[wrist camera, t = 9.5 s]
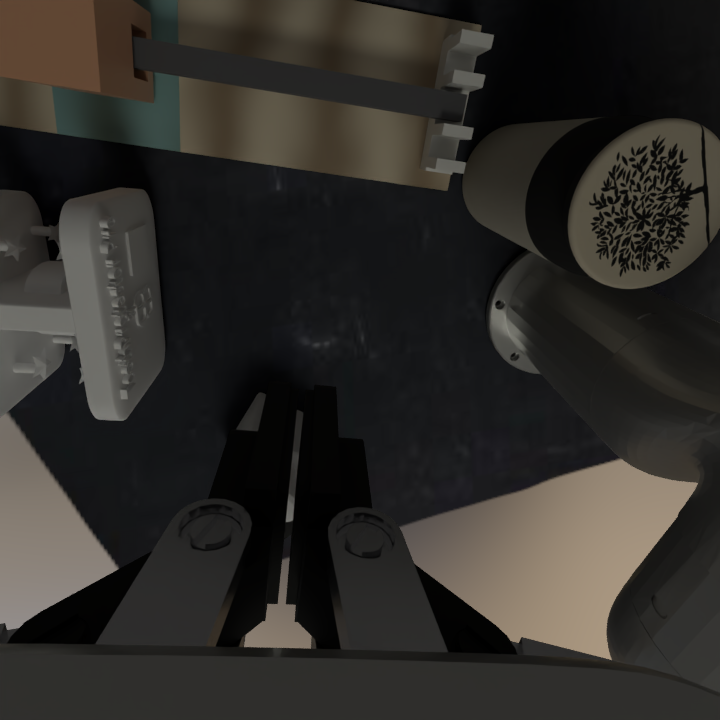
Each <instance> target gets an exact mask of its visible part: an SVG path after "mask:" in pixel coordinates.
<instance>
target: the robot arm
mask: <svg viewBox="0 0 720 720" xmlns="http://www.w3.org/2000/svg"><path fill="white" fill-rule="evenodd" d="M498 300H499V303H497V304H496V302H497V301H498ZM486 326H487V331H488V334H489V338H490V340H491V342H492V344H493V346H494V347H495V349H496V350H497V351H498V353H499V354H500V355H501V356H502V358H504V359H505V360H506V361H507V362H508V363H509V364H511V365H512V366H514V367H516V368H518V369H520V370H523V371H526V372H529V373H535V374H542V375H543V376H544V378H545V379H546V380H547V381H548V382H549V383H550V384H551V385H552V386H553V387H554V388H555V389H556V391H557V392H558V393H559V394H560V395H561V396H562V397H563V398H564V399H565V400H566V401H567V402H568V404H569V405H570V406H571V407H572V408H573V409H574V410H575V411H576V412H577V413H578V414H579V415H580V417H581V418H582V419H583V420H584V421H585V422H586V423H587V424H588V425H589V426H590V427H591V428H592V430H593V431H594V432H595V433H596V434H597V435H598V436H599V437H600V438H601V439H602V440H603V441H604V442H605V443H606V444H607V445H608V446H609V447H610V449H611V450H612V451H613V452H614V453H615V454H617V455H618V456H619V457H620V458H621V459H623V460H624V461H625V462H627V463H628V464H630V465H632V466H633V467H635V468H637V469H639V470H641V471H643V472H646V473H648V474H651V475H654V476H658V477H662V478H667V479H671V480H677V481H686V482H696V483H698V485H697V487H696V489H695V491H694V492H693V494H692V495H691V497H690V498H689V500H688V501H687V502H686V504H685V505H684V507H683V508H682V509H681V511H680V512H679V514H678V517H677V518H676V520H675V521H674V522H673V523H672V525H671V526H670V527H669V528H668V530H667V531H666V532H665V534H664V535H663V536H662V537H661V539H660V540H659V541H658V542H657V544H656V545H655V546H654V548H653V549H652V550H651V551H650V553H649V554H648V555H647V556H646V558H645V559H644V561H643V562H642V563H641V564H640V565H639V567H638V568H637V569H636V570H635V572H634V573H633V574H632V576H631V577H630V579H629V580H628V581H627V583H626V584H625V585H624V587H623V588H622V590H621V591H620V593H619V594H618V596H617V597H616V599H615V601H614V603H613V605H612V608H611V610H610V613H609V617H608V623H607V642H608V648H609V652H610V655H611V658H612V660H609V659H605V658H601V657H597V656H593V655H589V654H585V653H582V652H577V651H574V650H570V649H566V648H561V647H558V646H554V645H550V644H546V643H542V642H538V641H534V640H531V639H527V638H523V637H522V638H521V640H520V642H519V643H516V642H512V641H510V640H509V638H508V637H507V635H505V634H504V633H503V632H502V631H501V630H500V629H499V628H498V627H497V626H496V625H495V624H493V623H492V622H491V621H489V620H488V619H486V618H485V617H484V616H483V615H481V614H480V613H479V612H477V611H476V610H474V609H473V608H472V607H471V606H469V605H468V604H467V603H465V602H464V601H463V600H462V599H460V598H459V597H458V596H456V595H455V594H454V593H452V592H451V591H450V590H448V589H447V588H445V587H444V586H443V585H442V584H440V583H439V582H438V581H436V580H435V579H434V578H432V577H431V576H430V575H428V574H427V573H426V572H424V571H423V570H422V569H420V568H419V567H418V566H416V565H415V564H414V562H413V560H412V557H411V555H410V552H409V549H408V547H407V544H406V542H405V539H404V536H403V534H402V532H401V530H400V528H399V526H398V525H397V523H396V522H395V521H394V520H392V519H391V518H390V517H389V516H388V515H386V514H384V513H382V512H380V511H378V510H374V509H372V503H371V495H370V487H369V479H368V472H367V464H366V456H365V449H364V442H363V440H362V439H351V438H339V437H338V416H337V395H336V387H331V386H320V385H315V386H314V390H306V393H305V402H304V411H303V421H302V430H301V440H300V449H299V459H298V468H297V478H296V488H295V500H294V512H293V524H292V537H291V549H290V561H289V574H288V585H287V597H286V604H294V605H296V611H295V622H298V623H299V624H301V626H302V627H303V628H304V629H305V630H306V631H308V633H310V635H311V636H312V639H311V649H301V648H256V647H255V648H254V647H244V642H245V635H246V634H247V633H248V632H249V631H251V630H252V629H253V628H254V627H256V626H257V625H258V624H260V623H261V622H262V621H265V618H266V610H267V604H277V603H278V593H279V583H280V574H281V564H282V554H283V544H284V534H285V524H286V514H287V505H288V495H289V485H290V475H291V464H292V454H293V444H294V434H295V424H296V414H297V404H298V394H299V389H292V388H291V383H288V382H277V381H269V384H268V389H267V393H266V397H265V402H264V406H263V411H262V415H261V419H260V424H259V428H258V431H249V430H236V429H231V430H230V433H229V436H228V439H227V442H226V445H225V448H224V451H223V454H222V457H221V460H220V464H219V467H218V470H217V473H216V476H215V479H214V482H213V485H212V488H211V491H210V495H209V498H208V499H206V500H200V501H198V502H195V503H192V504H190V505H188V506H186V507H185V508H183V509H182V510H180V511H179V512H178V513H177V515H176V516H175V517H174V518H173V519H172V521H171V522H170V524H169V525H168V527H167V529H166V530H165V532H164V534H163V535H162V537H161V538H160V540H159V542H158V543H157V545H156V546H155V548H154V550H153V551H151V552H150V553H148V554H146V555H144V556H142V557H140V558H139V559H137V560H135V561H133V562H131V563H129V564H128V565H126V566H124V567H122V568H120V569H118V570H117V571H115V572H113V573H111V574H109V575H107V576H106V577H104V578H102V579H100V580H98V581H96V582H95V583H93V584H91V585H89V586H87V587H85V588H84V589H82V590H80V591H78V592H76V593H75V594H73V595H71V596H69V597H67V598H65V599H63V600H61V601H60V602H58V603H56V604H54V605H53V606H50V607H49V608H47V609H45V610H43V611H41V612H40V613H38V614H37V615H35V616H34V617H32V618H31V619H29V620H28V621H26V622H25V623H24V624H23V625H22V626H21V627H20V628H18V629H12V630H7V629H6V625H5V623H4V624H0V720H720V323H719V322H717V321H715V320H713V319H710V318H708V317H706V316H704V315H702V314H700V313H697V312H695V311H693V310H691V309H689V308H687V307H685V306H682V305H680V304H678V303H676V302H674V301H672V300H670V299H667V298H665V297H663V296H661V295H659V294H657V293H655V292H652V291H650V290H648V289H646V288H644V287H643V288H637V289H620V288H614V287H610V286H607V285H604V284H602V283H600V282H598V281H596V280H594V279H593V278H592V277H586V276H580V275H576V274H573V273H571V272H569V271H566V270H565V269H563V268H561V267H559V266H557V265H555V264H553V263H552V262H550V261H548V260H546V259H544V258H542V257H541V256H539V255H537V254H535V253H533V252H531V251H529V250H526V251H525V252H523V253H522V254H520V255H519V256H518V257H516V258H515V259H514V260H513V261H512V262H511V263H510V264H509V265H508V266H507V267H506V268H505V270H504V271H503V272H502V274H501V275H500V276H499V278H498V279H497V281H496V283H495V285H494V287H493V289H492V291H491V293H490V297H489V300H488V303H487V310H486ZM511 354H512V355H511Z"/></svg>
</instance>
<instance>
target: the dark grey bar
mask: <svg viewBox="0 0 720 720" xmlns="http://www.w3.org/2000/svg"><path fill="white" fill-rule="evenodd" d="M132 49H133V68H134V69H138V70H144V71H150V72H156V73H162V74H168V75H174V76H180V77H186V78H192V79H198V80H204V81H210V82H216V83H222V84H228V85H234V86H240V87H246V88H252V89H258V90H265V91H271V92H277V93H283V94H289V95H295V96H301V97H307V98H313V99H319V100H325V101H331V102H337V103H343V104H349V105H355V106H361V107H367V108H373V109H379V110H385V111H391V112H397V113H403V114H409V115H415V116H421V117H427V118H433V119H439V120H445V121H451V122H462V119H463V114H464V109H465V104H466V100H467V94H461V93H455V92H449V91H444V90H438V89H432V88H427V87H421V86H415V85H409V84H404V83H398V82H392V81H386V80H381V79H375V78H369V77H363V76H358V75H352V74H346V73H340V72H335V71H329V70H323V69H318V68H312V67H306V66H300V65H295V64H289V63H283V62H277V61H272V60H266V59H260V58H254V57H249V56H243V55H237V54H231V53H226V52H220V51H214V50H209V49H203V48H197V47H191V46H186V45H180V44H174V43H168V42H163V41H157V40H151V39H145V38H140V37H134V36H132Z"/></svg>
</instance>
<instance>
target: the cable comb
mask: <svg viewBox="0 0 720 720" xmlns="http://www.w3.org/2000/svg"><path fill="white" fill-rule="evenodd" d="M493 38H494V35H491V34H486V33H480V32H475V31H470V30H465V29H462V30H461V31H459V32H458V33H457V34H456V35H453V34H451V35H450V36H448V37H447V38H446V39H445V40H443V44H442V49H441V55H440V60H439V66H438V71H437V77H436V83H435V88H434V89H438V90H444V91H449V92H455V93H461V94H467V100H468V96H469V92H471V91H474V90H477V89H480V88H483V84H484V79H485V75H483V74H477V73H473V72H474V67H475V62H476V57H477V56H478V55H480V54H482V53H484V52H486V51H488V50H490V49H491V47H492V42H493ZM467 100H466V104H465V109H464V114H463V119H462V122H451V121H445V120H439V119H433V118H429V121H428V127H427V132H426V138H425V143H424V149H423V154H422V160H421V165H420V169H422V170H425V171H432V172H438V173H445V174H451V175H452V172H456V173H462V174H464V170H465V166H466V163H465V162H460V161H455V158H456V153H457V148H458V144H459V140H471V138H472V134H473V129H474V128H471V127H465V126H462V124H463V120H464V115H465V110H466V105H467Z"/></svg>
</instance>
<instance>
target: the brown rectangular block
mask: <svg viewBox="0 0 720 720" xmlns="http://www.w3.org/2000/svg"><path fill="white" fill-rule="evenodd" d="M132 36H134V37H140V38H145V39H151V40H152V37H151V13H150V12H148V11H147V10H146V9H144V8H143V7H141V6H140V5H139V4H137V3H136V2H134V1H133V0H0V77H6V78H11V79H16V80H21V81H26V82H32V83H37V84H42V85H47V86H52V87H58V88H63V89H68V90H73V91H79V92H85V93H91V94H98V95H104V96H110V97H117V98H123V99H129V100H135V101H142V102H148V103H154V89H153V72H150V71H144V70H138V69H134V68H133V49H132Z"/></svg>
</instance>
